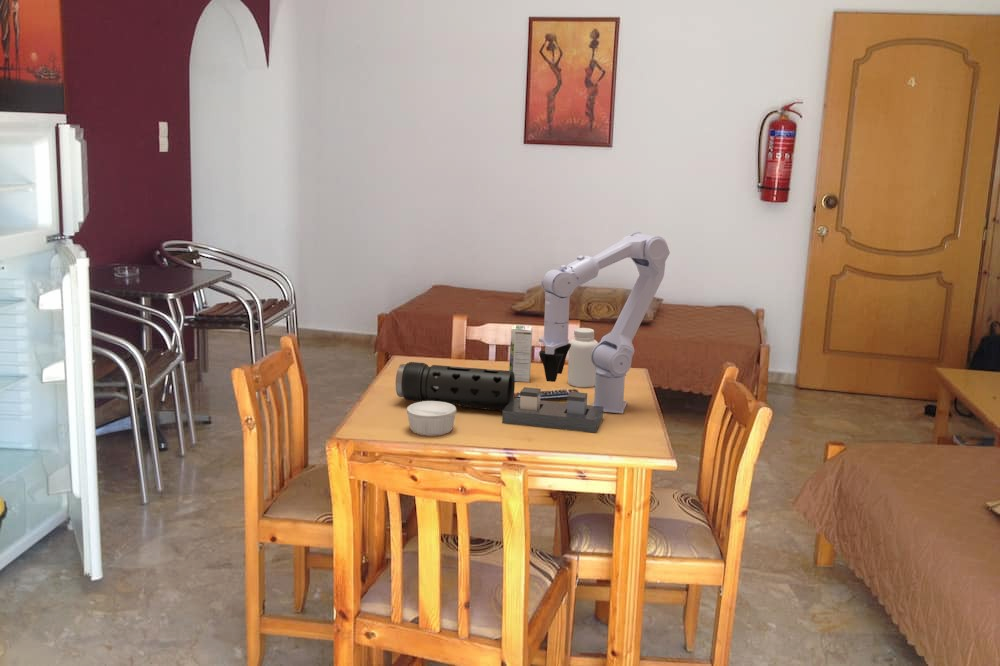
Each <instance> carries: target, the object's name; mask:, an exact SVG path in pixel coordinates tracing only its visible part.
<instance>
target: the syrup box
mask: <svg viewBox="0 0 1000 666" xmlns="http://www.w3.org/2000/svg"><path fill="white" fill-rule="evenodd" d="M509 346H510V348H509V366H508V367H509V369H508V371H513V372H514V376H515V382H527V383H528V382H530V381H531V367H532V366H531V365H532V349H533V347H532V346H533V326H531V325H521V324H517V325H515V324H514V325H512V326H511V331H510V345H509Z"/></svg>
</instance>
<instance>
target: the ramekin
mask: <svg viewBox="0 0 1000 666" xmlns="http://www.w3.org/2000/svg"><path fill="white" fill-rule="evenodd" d="M406 414H407V417H408V422H409V427H410V430H411V431H412V432H413V433H414V434H416V433H417V434H416V435H419V434H420V436H424V435H425V437H426V436H427V437H438V435H439V436H443V434H444V435H446V433H447V434H448V433H450V432H451V431H452V429H453V428H454V422H455V418H456V417H455V416H456V414H457V407H456V406H455V404H450V403H446V402H439V401H416V402H414V403H411V404H410V405H408V406H407V408H406Z"/></svg>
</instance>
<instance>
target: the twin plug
mask: <svg viewBox="0 0 1000 666" xmlns="http://www.w3.org/2000/svg"><path fill="white" fill-rule="evenodd" d="M566 398H567V399H566V403H567V413H569V414H579V415H586V412H587V405H588V393H587V392H579V391H570V392H569V393H568V395H567V397H566Z"/></svg>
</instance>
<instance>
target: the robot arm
mask: <svg viewBox="0 0 1000 666" xmlns="http://www.w3.org/2000/svg"><path fill="white" fill-rule="evenodd" d="M669 256H670V249H669V246H668V243H667V241H666V239H665V238H663V237H662V236H659V235H650V234H648V233H647V234H645V233H642V232H640V231H637V232H632V233H630V234H629V235H626V236H623V238H622V239H621V240H619V241H617V242H616V243H615V244H613V245H610V246H609V247H608V248H606V249H604V250H602V251H600V252H599V253H598V254H596V255H594V256H593V257H591V256H590V255H582V254H580V255H577V256H576V260H574V261H572V262H570V263H568V264H562V265H560V268H559V269H550V270H549V271H547V272H546V273H545V275H544V276H543V279H542V280H541V281H540V287H541V289H542V290H543V292H544V317H543V318H544V322H543V323H544V325H543V337H542V336H541V337H539V338H538V342H540V343H543V345H544V347H545V348H544V350H540V351H539V352H538V355H539V359H540V360H541V362H542V366H543V369H544V375H545V380H546V382H550V383H551V382H552V383H553V382H554V383H555V382H556V381H557V379H558V374H559V375H561V374H563V371H564V366H565V362H566V358H567V355H568V354H569V349H570V347H571V344H570V339H569V325H570V324H569V321H570V320H569V318H570V298H571V297H570V296H571V295H572V294H573V293H574V291H575V289H576V288H577V287H580V286H581V285H584V284H586V283H587V282H590V281H591V280H593V279H595V278H597V277H598V275H599V272H600V270H602V269H604V268H607V267H609V266H611V265H614V264H616V263H617V262H620V261H622V260H624V259H626V258H629V259H631V260H632V261H633V263H634V265H635V266H636V268H637V270H638V274H639V275H638V277H637V278H636V279H637V280H636V281H635V284H633V285H634V286H633V287H632V289H631V291H630V293H629V295H628V298H627V300H626V302H625V304H624V306H623V308H622V309H621V312H620V313H619V316H618V318H617V319H616V321H615V324H614V326H613V328H612V329H611V331H610V332H609V333H608V332H607V334H605V335H604V336H602V337H601V340H600V341H599V342H598V344H597V345H596V346H595V347H594V348H593V350H592V353H591V361H592V363H593V364H594V365H595V371H596V374H595V386H594V394H593V395H594V398H593V403H592V404H591V406H602V407H604V409H603V413H612V414H614V413H615V414H623V413H624V411H625V408H626V407H627V405H628V401H627V400H626V401H625V400H624V399H625V398H624V397H625V384H626V383H625V382H626V381H625V379H626V376H627V373H628V372H629V371H630V370H631V366H632V359H633V356H634V354H635V348H634V345H633V341H634V337H635V336H636V334H637V331H638V330H639V327H640V325H641V324H642V321H644V320H643V319H644V318H645V316H646V314H647V311H648V309H649V307H650V306H651V303H652V302H653V299H654V297H655V296H656V294H657V291H658V289H659V287H660V286H661V283H662V281H663V279H664V276H665V269H666V261H667V259H668V258H669Z"/></svg>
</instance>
